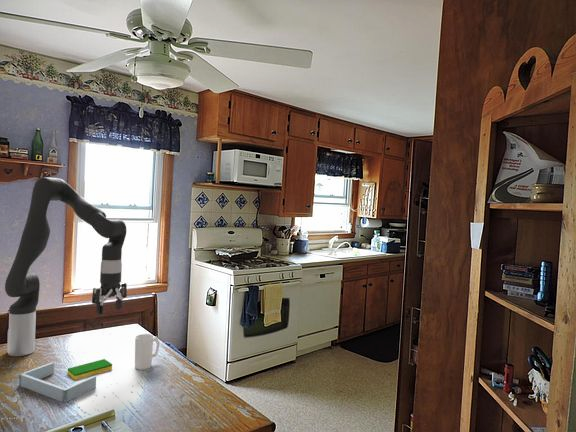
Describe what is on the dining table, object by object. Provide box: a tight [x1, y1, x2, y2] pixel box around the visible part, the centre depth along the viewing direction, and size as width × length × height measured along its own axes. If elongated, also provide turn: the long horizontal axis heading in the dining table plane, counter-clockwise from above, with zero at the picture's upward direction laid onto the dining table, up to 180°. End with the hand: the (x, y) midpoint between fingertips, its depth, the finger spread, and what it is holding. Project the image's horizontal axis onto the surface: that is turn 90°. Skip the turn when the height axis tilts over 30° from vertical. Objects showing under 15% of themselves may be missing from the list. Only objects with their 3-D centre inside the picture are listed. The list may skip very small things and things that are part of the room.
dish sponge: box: [67, 358, 113, 380], centre depth 152 cm, size 7×14×2 cm, turn 139°
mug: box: [134, 333, 160, 371], centre depth 160 cm, size 10×7×12 cm, turn 137°
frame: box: [18, 361, 97, 403], centre depth 139 cm, size 23×12×4 cm, turn 66°
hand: (109, 311), depth 155 cm, fingers open, 8 cm apart
